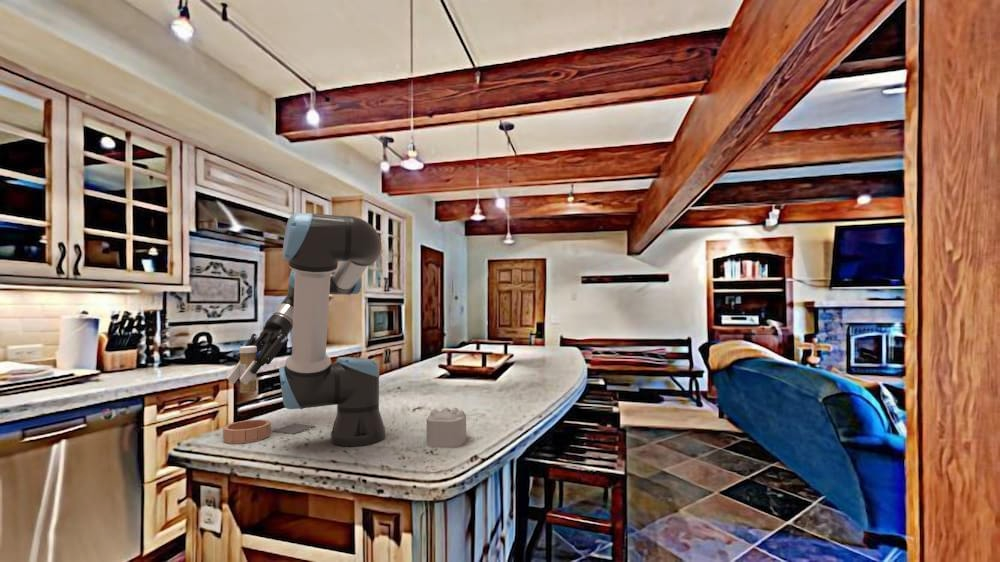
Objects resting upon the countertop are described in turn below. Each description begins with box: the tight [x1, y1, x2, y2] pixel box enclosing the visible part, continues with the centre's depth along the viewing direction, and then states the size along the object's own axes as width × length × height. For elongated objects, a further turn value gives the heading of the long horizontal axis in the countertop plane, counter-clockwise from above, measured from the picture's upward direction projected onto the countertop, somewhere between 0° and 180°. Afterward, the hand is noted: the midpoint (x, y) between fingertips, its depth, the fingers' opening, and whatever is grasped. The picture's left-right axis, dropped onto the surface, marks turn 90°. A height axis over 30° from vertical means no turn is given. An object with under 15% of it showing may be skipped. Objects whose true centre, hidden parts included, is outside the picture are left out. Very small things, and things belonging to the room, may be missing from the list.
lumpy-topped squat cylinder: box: [425, 407, 467, 449], centre depth 134 cm, size 10×13×9 cm
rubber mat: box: [271, 423, 316, 435], centre depth 148 cm, size 9×9×1 cm
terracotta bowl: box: [222, 419, 272, 445], centre depth 139 cm, size 12×12×4 cm
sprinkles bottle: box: [239, 345, 258, 394], centre depth 140 cm, size 5×5×13 cm
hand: (236, 381), depth 136 cm, fingers closed on sprinkles bottle, 4 cm apart
